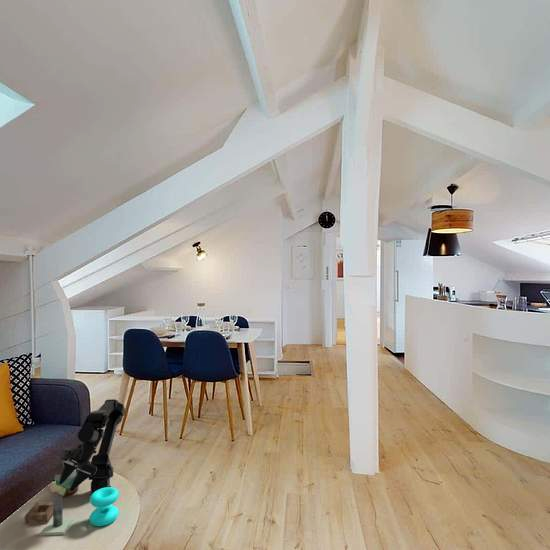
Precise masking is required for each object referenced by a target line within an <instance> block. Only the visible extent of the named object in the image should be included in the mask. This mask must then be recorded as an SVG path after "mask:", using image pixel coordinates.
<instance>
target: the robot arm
mask: <svg viewBox="0 0 550 550" xmlns="http://www.w3.org/2000/svg"><path fill="white" fill-rule="evenodd" d="M125 414H126V408H125V406H124V404H123V403H121V402H119V401H118V399H116V398H115V399H113V398H112V399H111V398H110V399H106V400H104V403H103V404H102V405H101V406H100V407H99V408H98V409H97V410H93V411H91V412H90V413H88V414H87V415H86V418H85V419H84V422H83V423H82V426H81V428H80V429H79V430H78V433H77V438H78V440H79V441H80V442H82V443H81V444H80V443H79V444H77V445H76V446H75V447H73V446H72V447H70V446H69V447H62V448H61V451H60V455H59V457H60V460H61V465H62V471H61V473H62V474H61V473H60V474H61V477H60V481H59V484H62V483H63V482H64V481H65V480H66V479H67V478H68V477H69V476H70V475H71V473H72V472H73V471H74V470H75V469H76V468H77V467H76V466H78V469H80V470H78V469H76V476H75V478H74V480H73V483H72V485H71V487H70V489H69V490H70V491H73V490H74V489H75V488H76V487H77V486H78V487H79V486H80V485H81V484H83V483H84V482H85V481H86V480H87V479H88V481H91V482H90V494H89V495H90V497H91V495H92V494H93V493H94V492H95V491H97V490H99V489H101V488H105V487H112V485H111V478H113V477H114V467H113V465H112V462H111V459H110V453H111V450H112V447H113V446H112V445H113V441H114V438H115V435H116V430H117V427H118V425H119V424H120V423H121V422H122V421H123V418H124V417H125ZM98 446H99V449H98V451H97V450H96V449H97V448H98ZM90 460H91V461H90ZM74 465H76V466H74Z"/></svg>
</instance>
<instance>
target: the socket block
mask: <svg viewBox="0 0 550 550" xmlns="http://www.w3.org/2000/svg"><path fill="white" fill-rule="evenodd" d="M52 518H53V501H51V502H36V503H35V504H34V505H33V506H32V507H31V508H30V509H29V510H28V511H27V512H26V514H25V515H24V524H25V525H27V524H28V525H29V524H31V525H32V524H48V522H49V521H50V520H51V519H52Z"/></svg>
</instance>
